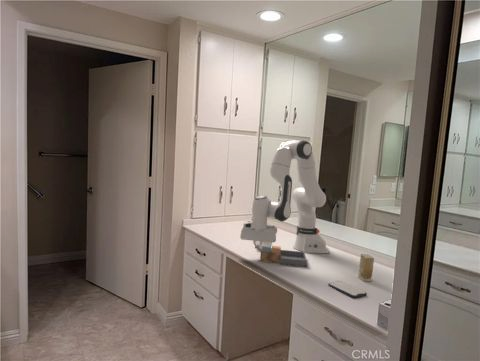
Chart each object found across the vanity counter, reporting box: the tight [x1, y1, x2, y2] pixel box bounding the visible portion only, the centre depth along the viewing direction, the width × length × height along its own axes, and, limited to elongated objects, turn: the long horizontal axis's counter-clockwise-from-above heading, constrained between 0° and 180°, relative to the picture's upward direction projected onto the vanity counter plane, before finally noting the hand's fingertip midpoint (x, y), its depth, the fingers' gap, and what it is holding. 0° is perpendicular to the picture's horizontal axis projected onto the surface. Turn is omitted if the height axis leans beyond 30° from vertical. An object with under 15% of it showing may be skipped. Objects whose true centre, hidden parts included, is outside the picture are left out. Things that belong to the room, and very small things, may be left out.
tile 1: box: [271, 245, 282, 253], centre depth 193 cm, size 5×5×2 cm
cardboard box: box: [259, 247, 281, 264], centre depth 194 cm, size 11×12×4 cm
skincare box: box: [357, 253, 375, 283], centre depth 170 cm, size 6×4×12 cm
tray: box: [279, 249, 308, 268], centre depth 193 cm, size 14×16×4 cm
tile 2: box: [262, 245, 272, 252], centre depth 194 cm, size 5×5×2 cm
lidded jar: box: [256, 241, 273, 250], centre depth 213 cm, size 11×11×9 cm
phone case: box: [327, 280, 368, 299], centre depth 155 cm, size 9×2×16 cm
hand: (257, 248), depth 194 cm, fingers closed
